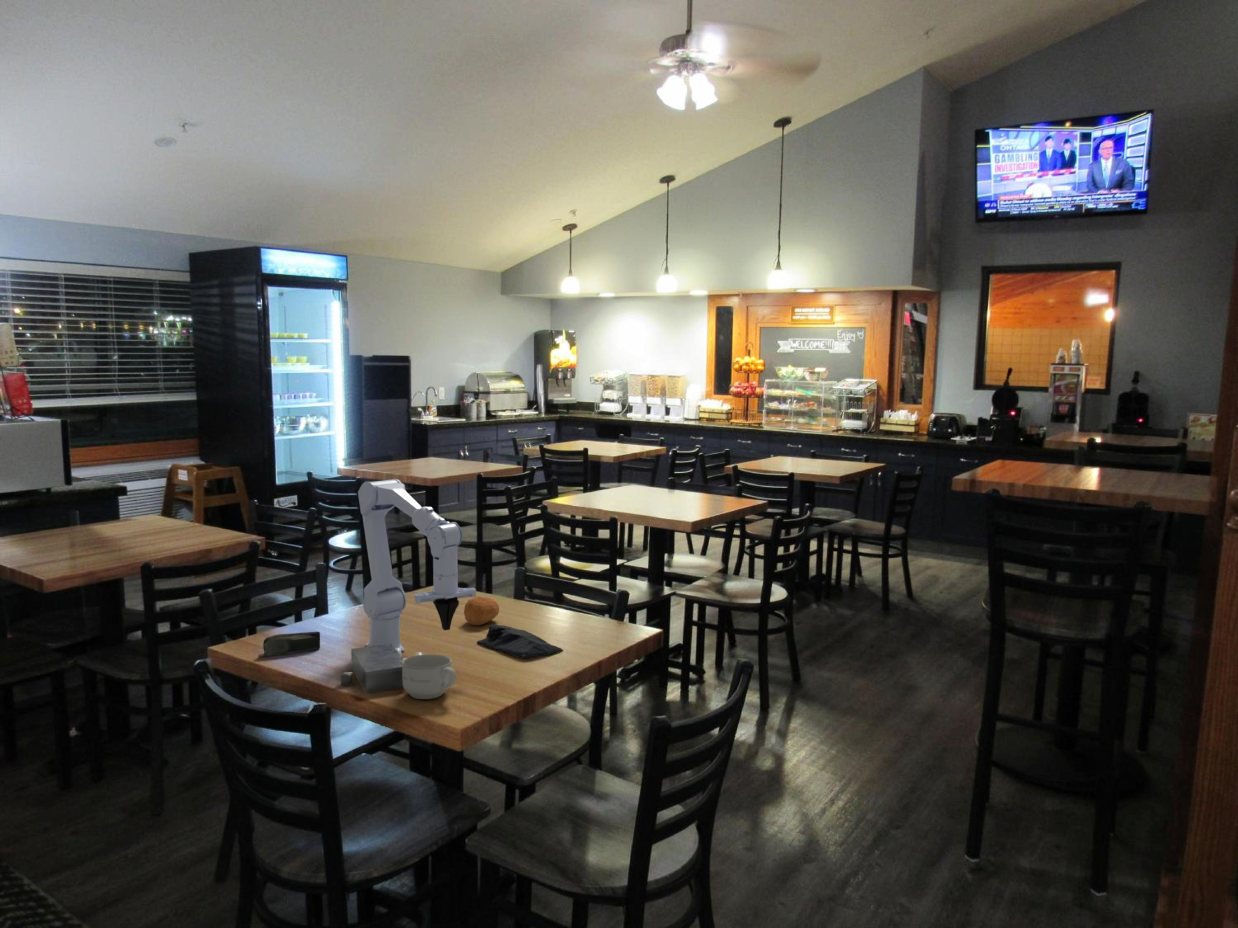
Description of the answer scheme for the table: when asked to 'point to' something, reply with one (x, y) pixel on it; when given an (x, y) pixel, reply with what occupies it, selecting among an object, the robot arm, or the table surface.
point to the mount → (377, 667)
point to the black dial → (346, 678)
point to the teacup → (427, 675)
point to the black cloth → (517, 642)
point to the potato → (480, 610)
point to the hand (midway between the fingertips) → (446, 628)
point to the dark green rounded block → (291, 643)
